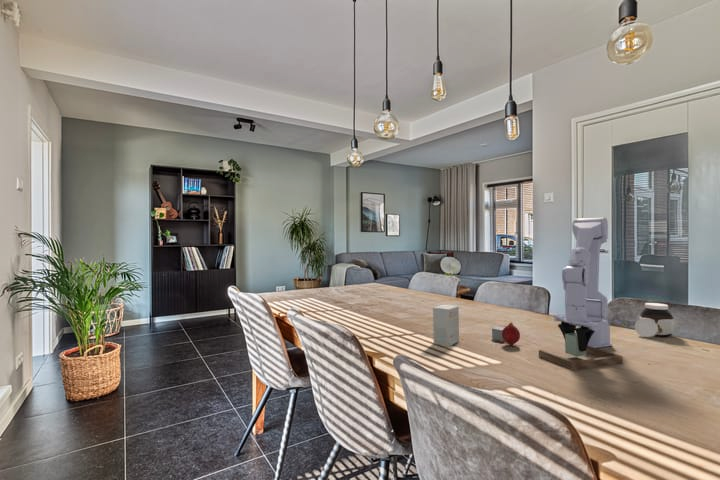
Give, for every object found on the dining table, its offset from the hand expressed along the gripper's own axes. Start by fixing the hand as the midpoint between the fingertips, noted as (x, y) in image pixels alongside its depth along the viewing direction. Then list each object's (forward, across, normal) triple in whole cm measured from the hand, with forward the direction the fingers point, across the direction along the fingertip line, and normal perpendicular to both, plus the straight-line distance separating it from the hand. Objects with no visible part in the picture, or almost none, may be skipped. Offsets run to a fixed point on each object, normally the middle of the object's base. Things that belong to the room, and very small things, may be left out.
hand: (576, 348), depth 113 cm
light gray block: (+3, -26, -7) cm, 27 cm away
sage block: (+2, 0, 0) cm, 2 cm away
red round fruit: (+3, -18, -9) cm, 20 cm away
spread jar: (+3, -9, +49) cm, 50 cm away
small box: (+3, -29, -28) cm, 40 cm away
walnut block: (+3, 0, 0) cm, 3 cm away
